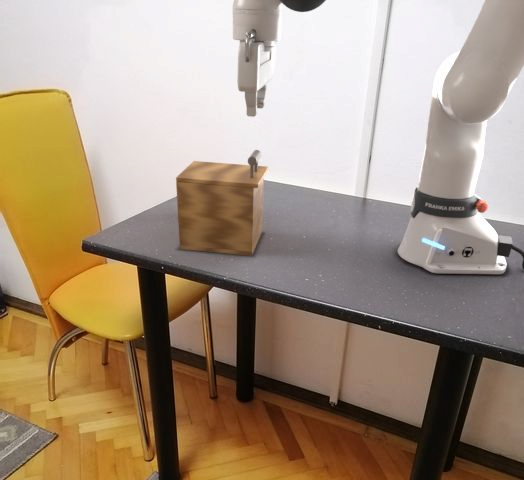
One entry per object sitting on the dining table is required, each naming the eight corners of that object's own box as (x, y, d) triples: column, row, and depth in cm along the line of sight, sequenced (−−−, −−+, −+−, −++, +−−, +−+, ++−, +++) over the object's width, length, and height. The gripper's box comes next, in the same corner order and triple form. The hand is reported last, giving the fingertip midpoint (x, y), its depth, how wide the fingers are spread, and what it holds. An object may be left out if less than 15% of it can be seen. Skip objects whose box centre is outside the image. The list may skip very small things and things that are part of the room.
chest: (261, 232, 124) (264, 170, 116) (251, 255, 113) (253, 187, 105) (196, 227, 126) (193, 164, 118) (179, 249, 114) (176, 181, 107)
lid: (268, 170, 116) (269, 146, 113) (258, 188, 105) (259, 162, 102) (193, 164, 118) (193, 140, 115) (176, 181, 106) (174, 155, 104)
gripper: (265, 32, 87) (263, 122, 95) (281, 27, 104) (278, 104, 112) (228, 30, 88) (229, 120, 95) (249, 26, 105) (248, 103, 112)
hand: (255, 111), depth 104 cm, fingers open, 8 cm apart
